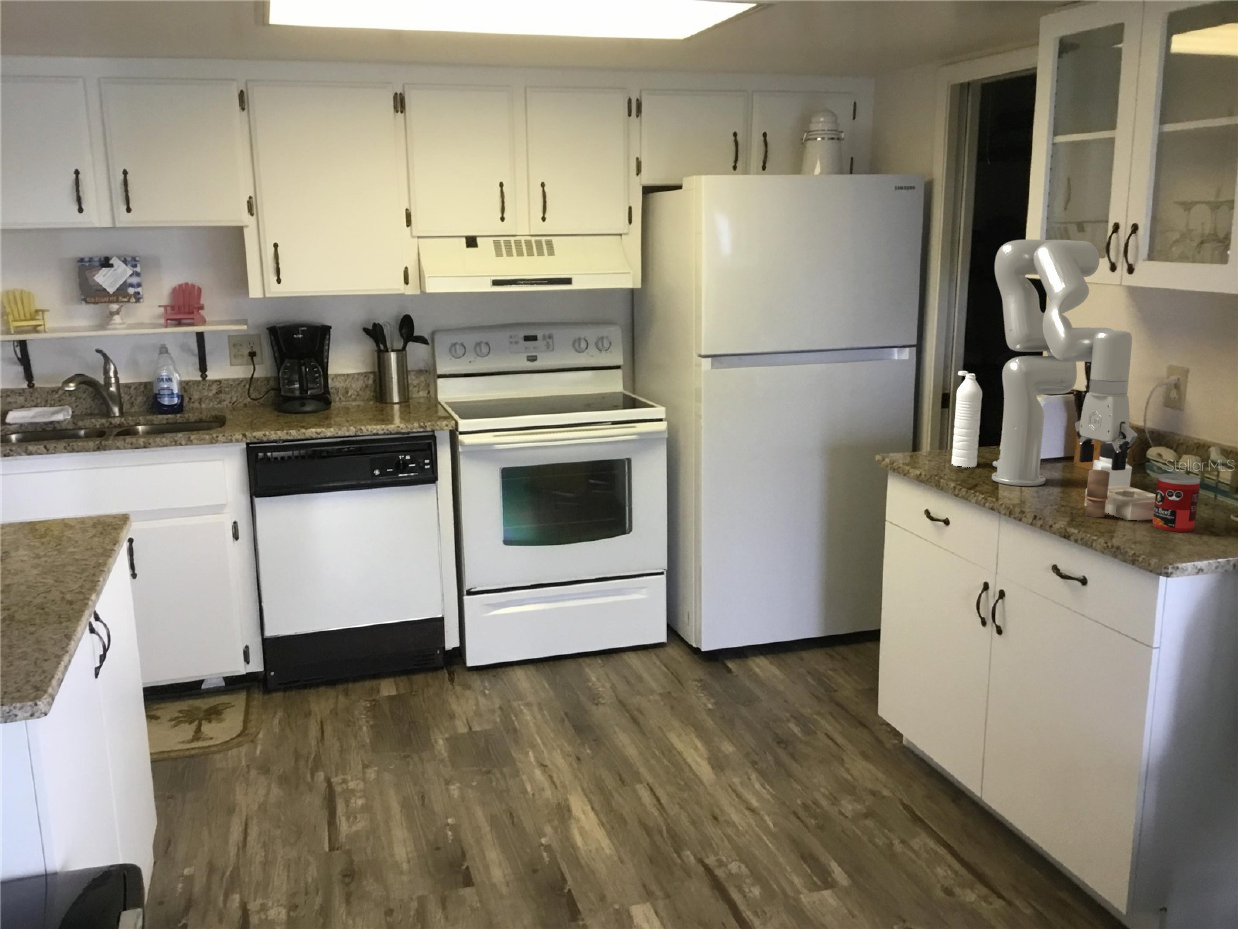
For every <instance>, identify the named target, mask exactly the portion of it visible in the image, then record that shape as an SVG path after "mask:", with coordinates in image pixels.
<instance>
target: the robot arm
mask: <svg viewBox="0 0 1238 929" xmlns="http://www.w3.org/2000/svg"><path fill="white" fill-rule="evenodd" d="M1099 266H1100V254H1099V252H1098V249H1097V247H1096V246H1095V245H1094V244H1093V243H1091V242H1090V241H1086V240H1069V239H1016V240H1011V241H1008V242H1005V243H1004V244H1003V245H1001V246H1000V247H999V249H998V250H997V253H996V255H995V260H994V275H995V280H996V283H997V287H998V289H999V292H1000V296H1001V300H1002V312H1003V321H1004V322H1003V324H1004V333H1005V334H1004V335H1005V340H1006V345H1007V346H1008V348H1009V349H1010V350H1012V351H1015V352H1027V353H1029V352H1031V353H1032V352H1046V355H1025V356H1023V355H1022V356H1015V357H1013V358H1011V359H1010V360H1008V361H1006V362H1005V364H1004V366H1003V369H1002V374H1001V376H1002V387H1003V398H1004V399H1003V416H1002V417H1003V418H1002V427H1001V428H1002V430H1001V442H1000V453H999V459H997V460H994V461H993V462H992V466H994V467H995V468H997V469H996V471H995V472H993V473H992V474H991V479H992V480H993V482H994V481H995V482H996V483H1001V484H1004V485H1009V486H1019V487H1020V486H1021V487H1036V486H1041V485H1044V484H1045V483H1046V478H1045V477H1044V476H1043V475H1040V466H1041V454H1042V444H1043V436H1044V435H1043V434H1044V433H1043V432H1044V422H1045V411H1044V408H1043V406H1042V404H1041V403H1040V401H1039V399H1038V397H1037V396H1039V395H1062V394H1067V393H1069V392H1071V391H1072V390H1073V389H1074V387H1075V385H1076V382H1077V379H1078V378H1077V376H1078V370H1077V368H1078V367H1077V363H1079V362H1081V363H1082V362H1088V363H1090V364H1091V366H1090V377H1089V383H1088V384H1089V385H1088V386H1089V390H1088V392H1087V393H1086V394H1085V398H1084V401H1083V405H1082V410H1081V415H1080V416H1081V417H1080V420H1078V421H1075V423H1074V426H1075V427H1074V428H1075V430H1076V437H1077V438H1078V444H1079V445H1080V449H1079V463H1082V464H1083V463H1092V462H1094V456H1095V455H1094V454H1095V443H1094V442H1095V441H1099V442H1102V443H1108V442H1111V443H1112V445H1113V447H1114V449H1115V451H1116V452H1113V455H1112V466H1111V469H1112V470H1114V471H1117V470H1125V468H1126V463H1127V462H1126V458H1127V459H1128V457H1127V452H1128V453H1129V452H1130V450H1131V448H1132V447H1133V446H1134V443H1135V441H1136V440H1137V438H1138V433H1137V432H1135V430H1133V429H1132V428H1131V427H1130V400H1129V396H1128V393H1129V392H1128V389H1129V379H1130V370H1131V369H1130V368H1131V357H1132V348H1133V347H1132V345H1133V336H1132V334H1131V333H1130V332H1129V331H1126V330H1117V329H1116V330H1114V329H1112V328H1108V327H1073V325H1072V323H1071V321H1070V319H1069V318H1068V317H1067V316H1066V315H1064V314H1065V313H1067V312H1069V311H1072V310H1073V309H1075V308H1077V307H1079V306H1080V305H1081V304H1083V303H1084V302H1085V301H1086V299H1088V297H1089V294H1090V288H1089V286H1088V284H1087V282H1086V279H1085V278H1088V277H1091V276H1093V275H1094V274H1095V273H1096V272H1097V270H1098V269H1099ZM1027 275H1028V276H1029V275H1031V276H1035V275H1037V276H1038V277H1039V279H1040V281H1041V284H1042V286H1043V288H1044V290H1045V293H1046V296H1047V297H1048V300H1049V304H1048V305H1047V307H1046V309H1045V311H1044V312H1042V311H1041V308H1040V298H1039V297H1040V296H1039V293H1038V291H1037V289H1036V288H1035V286H1034V285H1033V284H1032V282H1031V281H1030V280H1029V279H1028V278H1027V277H1026V276H1027ZM1119 443H1121V445H1119Z"/></svg>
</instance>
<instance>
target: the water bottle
mask: <svg viewBox="0 0 1238 929" xmlns="http://www.w3.org/2000/svg"><path fill="white" fill-rule="evenodd" d="M957 375H958V376H964V377H965V379H964V380H963V381H962V383H961V384H960V386H959V387H958V388H957V390H956V401H955V411H954V412H955V413H954V414H955V416H954V423H953V425H954V427H953V438H952V439H953V441H952V454H951V455H952V456H951V465H952V464H953V465H952V466H954V467H957V466H962V467H961V468H967V467H968V468H967V469H969V467H970V468H975V467H977V464H978V449H979V435H980V425H981V411H982V410H981V409H982V398H983V390H982V388H981V386H980V385H979V383H978V381H977V380H976V378H977V376H976V374H975V373H969V371H966V370H960V371H959V370H958V372H957Z"/></svg>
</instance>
